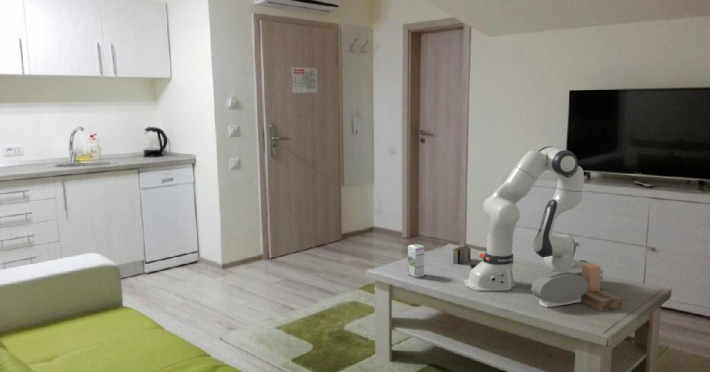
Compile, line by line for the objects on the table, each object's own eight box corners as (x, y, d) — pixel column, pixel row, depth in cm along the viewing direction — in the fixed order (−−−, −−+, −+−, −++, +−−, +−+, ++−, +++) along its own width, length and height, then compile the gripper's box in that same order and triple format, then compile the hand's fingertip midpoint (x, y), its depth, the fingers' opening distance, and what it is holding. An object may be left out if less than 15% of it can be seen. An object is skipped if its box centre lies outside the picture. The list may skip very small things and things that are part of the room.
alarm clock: (578, 297, 225) (577, 266, 224) (589, 300, 219) (588, 269, 218) (531, 304, 217) (530, 273, 217) (541, 308, 212) (540, 276, 211)
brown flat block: (458, 265, 273) (458, 246, 272) (453, 264, 276) (453, 245, 274) (471, 260, 281) (471, 242, 280) (466, 259, 283) (466, 241, 282)
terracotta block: (588, 297, 224) (590, 267, 222) (580, 294, 229) (582, 264, 227) (598, 296, 225) (600, 266, 224) (590, 292, 230) (592, 263, 228)
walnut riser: (599, 311, 210) (600, 301, 209) (582, 302, 220) (583, 292, 219) (621, 308, 212) (621, 298, 212) (603, 299, 222) (604, 290, 221)
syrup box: (424, 275, 256) (424, 245, 254) (415, 278, 252) (415, 247, 250) (416, 272, 260) (416, 243, 258) (407, 275, 257) (407, 245, 255)
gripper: (550, 264, 236) (570, 273, 222) (590, 260, 241) (612, 269, 227) (549, 278, 237) (569, 288, 223) (590, 274, 242) (611, 283, 228)
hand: (591, 278), depth 225 cm, fingers open, 8 cm apart
